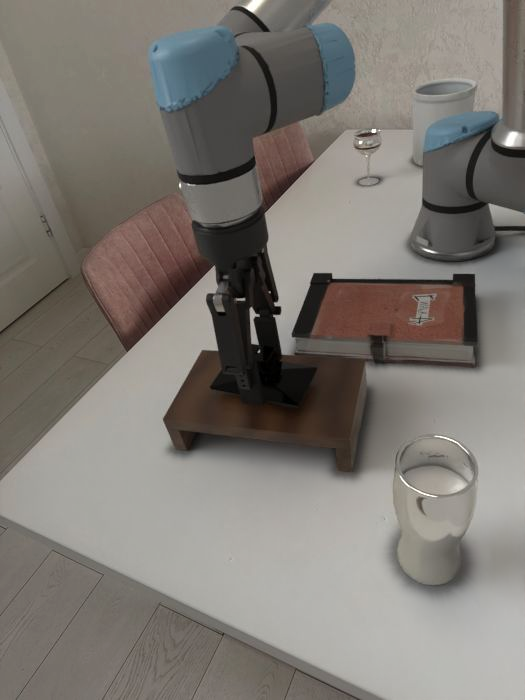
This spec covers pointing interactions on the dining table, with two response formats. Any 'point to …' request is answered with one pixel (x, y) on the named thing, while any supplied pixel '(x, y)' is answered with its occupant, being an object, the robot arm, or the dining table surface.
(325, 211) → the dining table surface
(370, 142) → the wineglass
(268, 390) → the build plate
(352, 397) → the shelf
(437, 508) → the beer glass
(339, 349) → the book
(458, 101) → the utensil holder
